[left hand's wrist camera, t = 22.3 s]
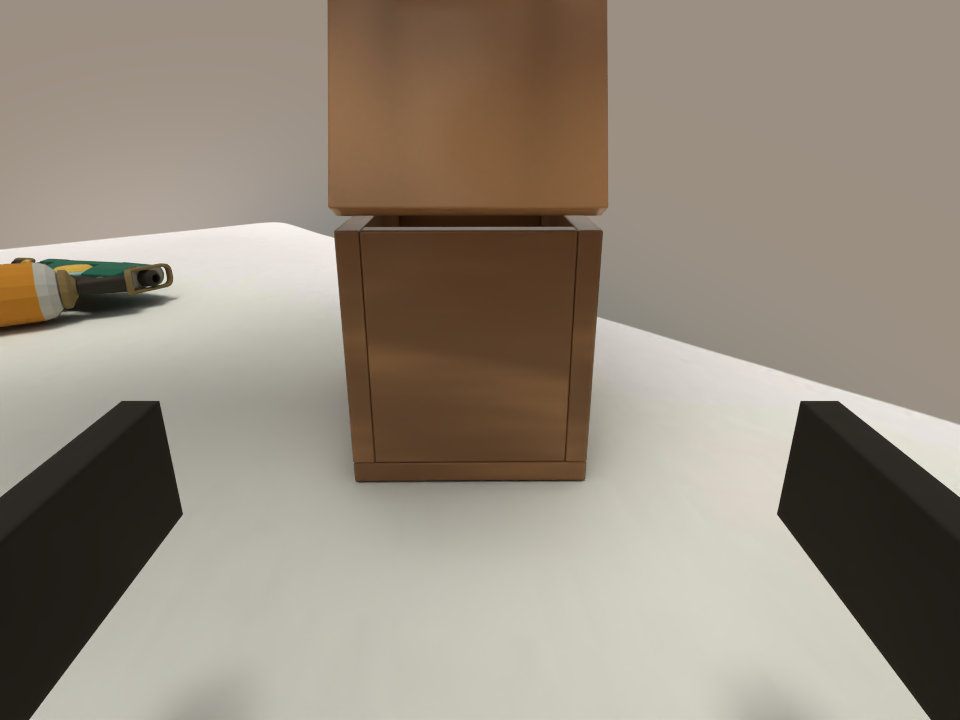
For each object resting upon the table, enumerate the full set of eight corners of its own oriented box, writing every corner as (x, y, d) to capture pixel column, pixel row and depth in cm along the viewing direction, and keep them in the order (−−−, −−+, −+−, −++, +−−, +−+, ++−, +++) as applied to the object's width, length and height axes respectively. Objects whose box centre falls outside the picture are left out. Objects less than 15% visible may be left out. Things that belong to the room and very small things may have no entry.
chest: (393, 363, 37) (383, 189, 33) (548, 362, 37) (556, 189, 34) (354, 481, 25) (333, 230, 21) (585, 480, 25) (603, 230, 21)
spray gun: (-108, 314, 48) (101, 283, 59) (-49, 347, 38) (189, 302, 49) (-125, 259, 47) (91, 238, 58) (-69, 278, 37) (179, 248, 48)
